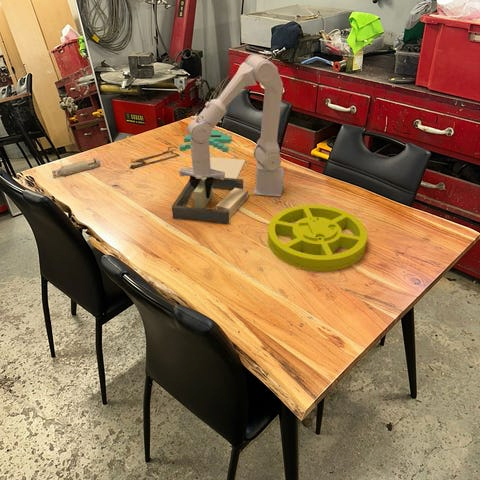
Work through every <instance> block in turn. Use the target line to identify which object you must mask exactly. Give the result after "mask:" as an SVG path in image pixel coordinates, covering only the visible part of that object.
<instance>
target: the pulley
mask: <svg viewBox="0 0 480 480" xmlns="http://www.w3.org/2000/svg"><path fill="white" fill-rule="evenodd" d="M295 221H296V222H295ZM293 222H294V223H293ZM345 228H346V230H348V231H350V232H351V234H348V233H343V229H345ZM278 236H284V237H288V238H291V240H290V241H288V242H286V243H284V242H283V241H281V240H280V238H279V237H278ZM367 240H368V231H367V228H366V227H365V225H364V224H363V222H362V221H361V220H360V219H359V218H358V217H356V216H355V215H353V214H351V213H350V212H347V211H345V210H343V209H340V208H337V207H334V206H328V205H323V204H322V205H321V204H301V205H297V206H292V207H289V208H286V209H283V210H282V211H280V212H278V213H277V214H275V215H274V216H273V217H272V218H271V219H270V221H269V223H268V228H267V244H268V247H269V249H270V250H271V252H272V254H273V255H274V256H276V257H277V259H279V260H281V261H282V262H283V263H286V264H287V265H289V266H292V267H294V268H297V269H300V270H301V269H302V270H306V271H311V272H312V271H313V272H333V271H338V270H343V269H346V268H348V267H351V266H352V265H354V264H355V263H357V262H358V261H359V260H361V258H362V257H363V255H364V254H365V251H366V246H367ZM340 248H341V249H347V250H345V251H343V252H338V253H335V254H333V253H334V252H336V251H337V250H339V249H340Z"/></svg>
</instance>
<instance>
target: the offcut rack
mask: <svg viewBox="0 0 480 480" xmlns="http://www.w3.org/2000/svg"><path fill="white" fill-rule="evenodd" d="M200 181H201V179H200ZM234 188H239V189H243V190H244V179H243V178H237V179H235V178H224V180H221V179H218V178H215V179H214V182H213V185H212V189H217V190H226V191H232V190H233V189H234ZM194 190H195V189H194V188H193V186H192V185H191V183H190V182H189V180H188V181H187V183H186V184H185V186H184V188H183V189H182V190H181V191H180V194H179V195H178V197H177V198H176V199H175V201H174V202H173V204H172V205H171V210H172V211H171V212H172V219H177V220H186V221H187V220H188V221H196V222H197V221H198V222H205V223H206V222H207V223H213V224H214V223H215V224H225V225H226V224H227V225H229V223H230V218H229V211H224V210H216V209H213V208H205V209H204V208H195V206H194V207H193V206H185V205H186V204H187V202H188V201H189V199H190V197H191V196H192V194H193V193H194Z"/></svg>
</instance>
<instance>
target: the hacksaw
mask: <svg viewBox="0 0 480 480" xmlns="http://www.w3.org/2000/svg"><path fill="white" fill-rule="evenodd" d="M167 148H168V149H167V151H162V153H158V154H154V155H152V156H151V155H150V156H146V157H142V158H139V159H136V160H134V158H133V159H132V158H131V160H130V162H131V163H137V164H132V165H130V166H129V169H132V170H135V169H137V168H141V167H145V166H148V165H150V164H154V163H157V162H160V161H164V160H169V159H173V158H177V157H181V155H180V154H178V153H177V152H174V151H176V150H177V149H178V147H177V146H169V147H167ZM171 148H175V149H173V150H170V149H171ZM166 154H172V155H173V156H169V157H165V158H161V159H157V160H153V161H149V162H147V160H149V159H153V158H158V157H160V156H163V155H166ZM133 160H134V161H133Z"/></svg>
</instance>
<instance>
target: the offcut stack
mask: <svg viewBox="0 0 480 480" xmlns="http://www.w3.org/2000/svg"><path fill="white" fill-rule="evenodd" d="M249 197H250V193H249V191H248V189H244V188H243V189H239V188H234V189H233V190H230V192H229V193H227V194H226V196H224V198H222V200H220V201H219V202H218V203H217V204H216V209H215V210H224V211H229V219H231V217H232V216H233V215H234V214H235V213H236V211H237V210H238V209H239V208H240V207H241V206H242V205H243V204H244V203H245V202H246V200H247V199H248V198H249Z"/></svg>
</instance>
